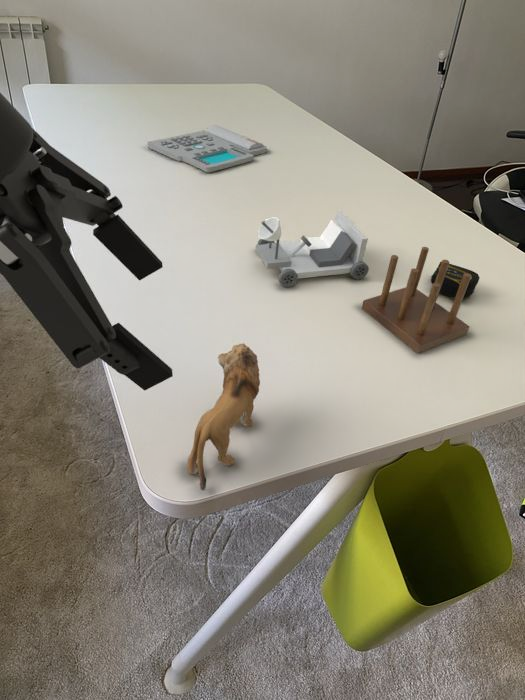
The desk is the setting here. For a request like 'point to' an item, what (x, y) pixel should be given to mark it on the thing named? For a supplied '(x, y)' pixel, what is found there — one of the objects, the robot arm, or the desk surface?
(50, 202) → the robot arm
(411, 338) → the walnut rack
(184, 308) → the desk surface
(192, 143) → the office telephone
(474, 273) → the tape measure
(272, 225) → the toy car
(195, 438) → the lion figurine
